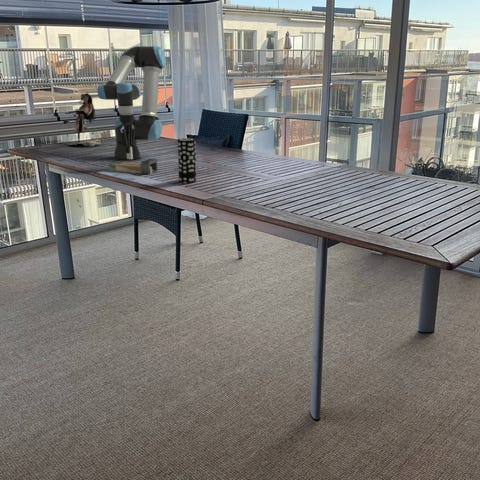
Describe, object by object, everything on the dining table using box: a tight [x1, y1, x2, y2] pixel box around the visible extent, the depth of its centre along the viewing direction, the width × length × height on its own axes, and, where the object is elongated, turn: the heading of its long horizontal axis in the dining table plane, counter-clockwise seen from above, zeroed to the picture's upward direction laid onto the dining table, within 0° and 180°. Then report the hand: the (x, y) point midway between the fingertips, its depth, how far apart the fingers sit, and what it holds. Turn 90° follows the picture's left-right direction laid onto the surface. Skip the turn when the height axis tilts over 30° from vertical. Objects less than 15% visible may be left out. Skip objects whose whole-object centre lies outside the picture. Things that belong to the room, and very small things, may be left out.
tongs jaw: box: [112, 161, 141, 166], centre depth 271 cm, size 4×20×4 cm, turn 69°
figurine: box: [62, 92, 104, 148], centre depth 348 cm, size 25×24×35 cm
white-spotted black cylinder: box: [177, 137, 197, 184], centre depth 244 cm, size 8×8×20 cm
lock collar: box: [140, 158, 158, 175], centre depth 266 cm, size 10×4×6 cm, turn 161°
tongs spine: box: [108, 162, 153, 175], centre depth 268 cm, size 5×24×4 cm, turn 71°
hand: (129, 158), depth 276 cm, fingers closed
